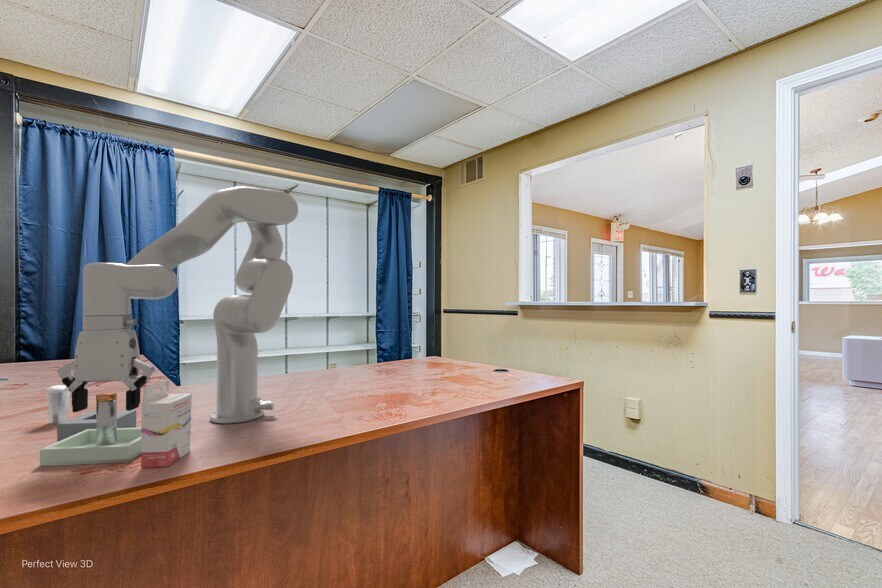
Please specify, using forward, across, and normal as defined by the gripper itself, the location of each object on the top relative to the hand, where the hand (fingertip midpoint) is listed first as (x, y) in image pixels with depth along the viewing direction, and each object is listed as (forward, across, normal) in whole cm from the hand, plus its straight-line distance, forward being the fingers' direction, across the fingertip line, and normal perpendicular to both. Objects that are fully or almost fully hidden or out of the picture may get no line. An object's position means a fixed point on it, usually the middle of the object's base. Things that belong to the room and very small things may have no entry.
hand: (106, 409), depth 84 cm
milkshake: (+9, +25, -23) cm, 35 cm away
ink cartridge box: (+9, -14, +5) cm, 17 cm away
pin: (+8, 0, 0) cm, 8 cm away
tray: (+8, 0, 0) cm, 8 cm away
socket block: (+8, +9, -12) cm, 17 cm away
